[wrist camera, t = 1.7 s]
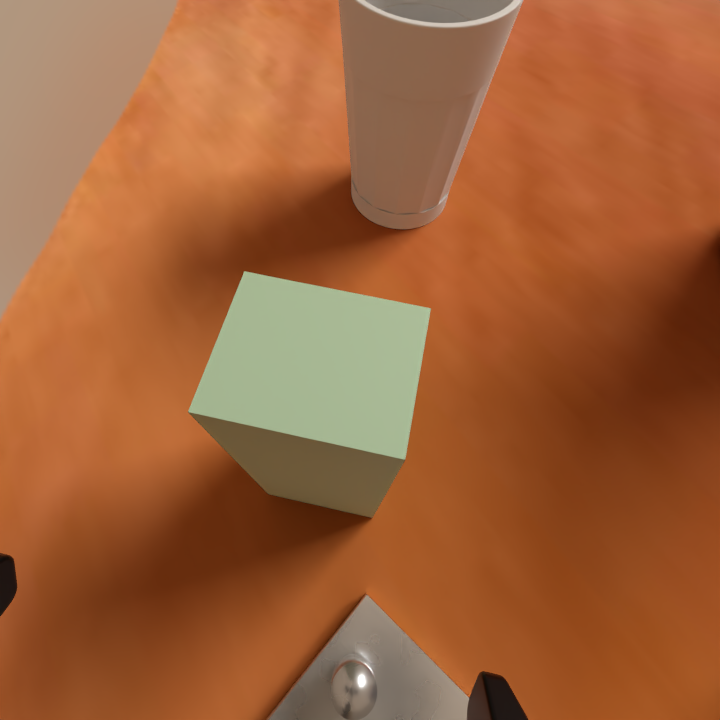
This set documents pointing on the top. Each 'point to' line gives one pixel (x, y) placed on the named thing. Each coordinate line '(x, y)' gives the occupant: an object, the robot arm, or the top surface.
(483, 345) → the top surface
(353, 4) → the cup
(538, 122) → the top surface
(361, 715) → the plate
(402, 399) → the pale green block
